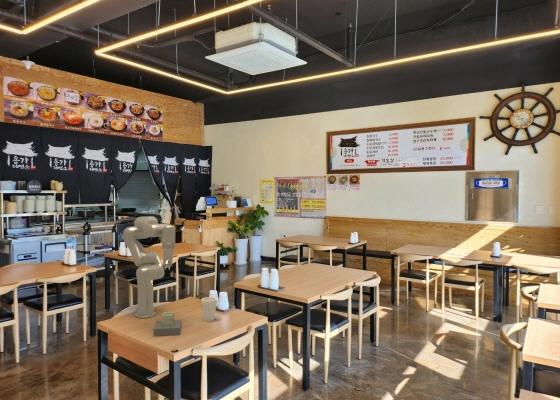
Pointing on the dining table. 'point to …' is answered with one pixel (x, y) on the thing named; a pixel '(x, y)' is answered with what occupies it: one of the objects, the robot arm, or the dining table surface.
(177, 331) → the block
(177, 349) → the dining table surface
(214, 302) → the foam cup
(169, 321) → the cube
